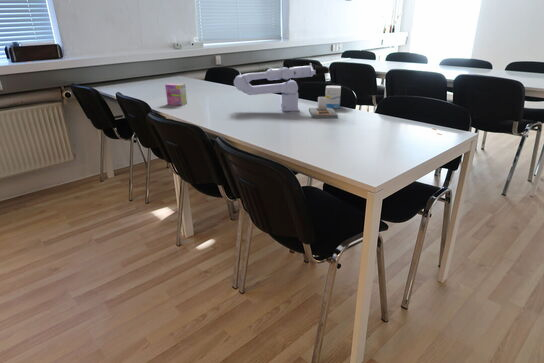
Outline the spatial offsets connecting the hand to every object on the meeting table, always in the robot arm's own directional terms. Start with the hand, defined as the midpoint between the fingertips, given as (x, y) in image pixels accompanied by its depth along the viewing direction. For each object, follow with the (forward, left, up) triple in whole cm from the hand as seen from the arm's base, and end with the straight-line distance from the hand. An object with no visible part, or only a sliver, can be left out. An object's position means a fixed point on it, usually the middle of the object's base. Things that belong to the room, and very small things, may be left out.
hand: (327, 69), depth 203 cm
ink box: (+5, +7, -22) cm, 24 cm away
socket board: (-3, -11, -22) cm, 25 cm away
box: (-87, +17, -22) cm, 91 cm away
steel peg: (-3, -7, -22) cm, 23 cm away
